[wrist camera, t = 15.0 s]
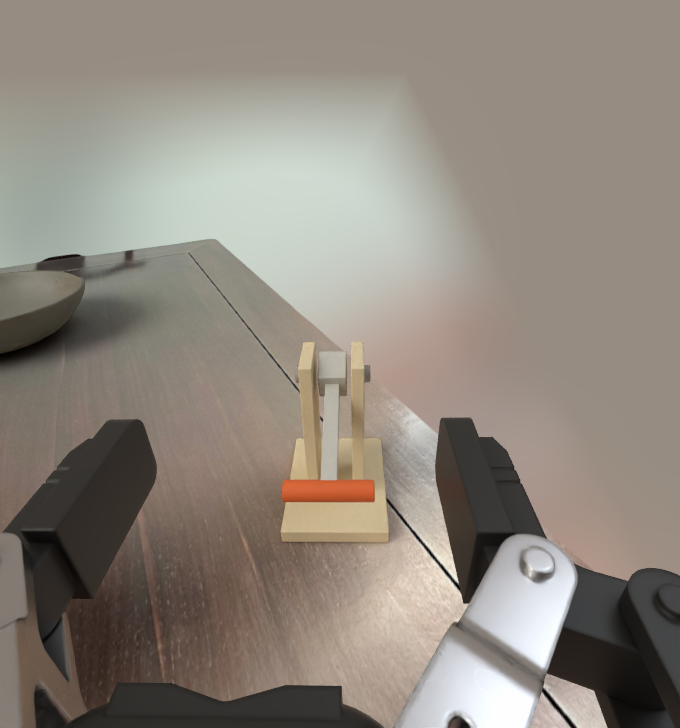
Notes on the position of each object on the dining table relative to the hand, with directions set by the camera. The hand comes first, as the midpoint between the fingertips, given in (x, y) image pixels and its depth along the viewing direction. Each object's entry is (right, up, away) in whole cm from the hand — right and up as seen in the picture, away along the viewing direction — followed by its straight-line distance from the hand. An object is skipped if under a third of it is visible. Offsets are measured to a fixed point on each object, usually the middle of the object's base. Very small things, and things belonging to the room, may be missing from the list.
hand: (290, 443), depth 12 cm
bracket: (+1, -10, +30) cm, 31 cm away
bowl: (-54, +6, +59) cm, 80 cm away
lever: (+1, -3, +21) cm, 21 cm away
